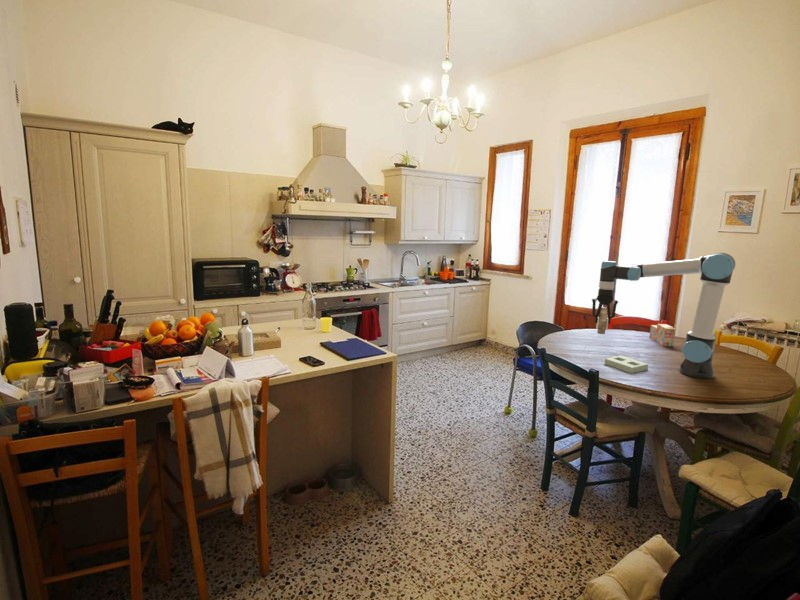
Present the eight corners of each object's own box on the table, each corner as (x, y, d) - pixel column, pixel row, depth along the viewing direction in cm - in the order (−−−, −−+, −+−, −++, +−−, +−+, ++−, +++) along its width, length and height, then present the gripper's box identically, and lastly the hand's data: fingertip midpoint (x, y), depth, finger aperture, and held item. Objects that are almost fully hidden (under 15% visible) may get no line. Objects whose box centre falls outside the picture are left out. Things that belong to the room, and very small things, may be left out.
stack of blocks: (648, 337, 291) (651, 320, 289) (658, 338, 290) (661, 321, 288) (662, 346, 271) (665, 328, 268) (673, 346, 270) (675, 328, 267)
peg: (606, 333, 236) (609, 308, 233) (601, 334, 234) (604, 308, 231) (600, 332, 240) (603, 306, 237) (595, 332, 238) (598, 307, 235)
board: (647, 369, 225) (648, 364, 224) (631, 373, 219) (632, 367, 218) (620, 360, 239) (621, 355, 238) (604, 363, 233) (605, 358, 232)
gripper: (621, 288, 233) (616, 328, 237) (588, 286, 238) (584, 326, 242) (624, 290, 226) (619, 331, 230) (590, 288, 231) (586, 328, 235)
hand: (601, 328), depth 236 cm, fingers closed on peg, 4 cm apart
